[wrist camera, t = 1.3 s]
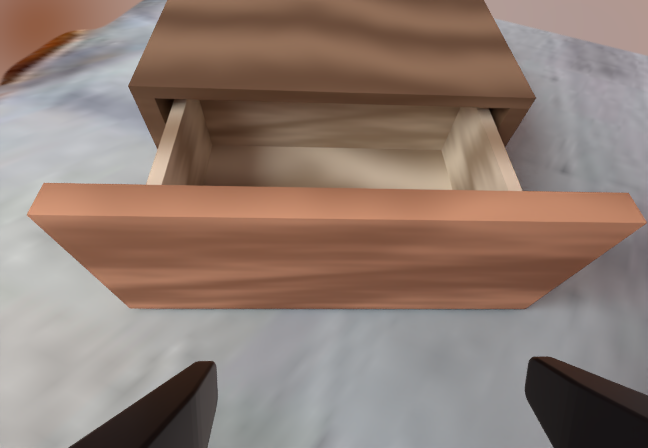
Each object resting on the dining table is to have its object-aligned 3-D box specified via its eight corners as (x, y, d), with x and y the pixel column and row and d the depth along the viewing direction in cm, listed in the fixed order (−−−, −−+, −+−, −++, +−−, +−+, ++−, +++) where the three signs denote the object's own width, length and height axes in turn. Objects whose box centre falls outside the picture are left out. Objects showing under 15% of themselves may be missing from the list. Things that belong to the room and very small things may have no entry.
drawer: (525, 309, 23) (647, 223, 15) (130, 308, 22) (26, 214, 14) (472, 151, 31) (532, 37, 23) (177, 144, 30) (130, 22, 22)
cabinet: (476, 191, 29) (535, 98, 22) (174, 186, 28) (128, 85, 21) (442, 84, 37) (477, -12, 30) (204, 77, 36) (178, -25, 28)
